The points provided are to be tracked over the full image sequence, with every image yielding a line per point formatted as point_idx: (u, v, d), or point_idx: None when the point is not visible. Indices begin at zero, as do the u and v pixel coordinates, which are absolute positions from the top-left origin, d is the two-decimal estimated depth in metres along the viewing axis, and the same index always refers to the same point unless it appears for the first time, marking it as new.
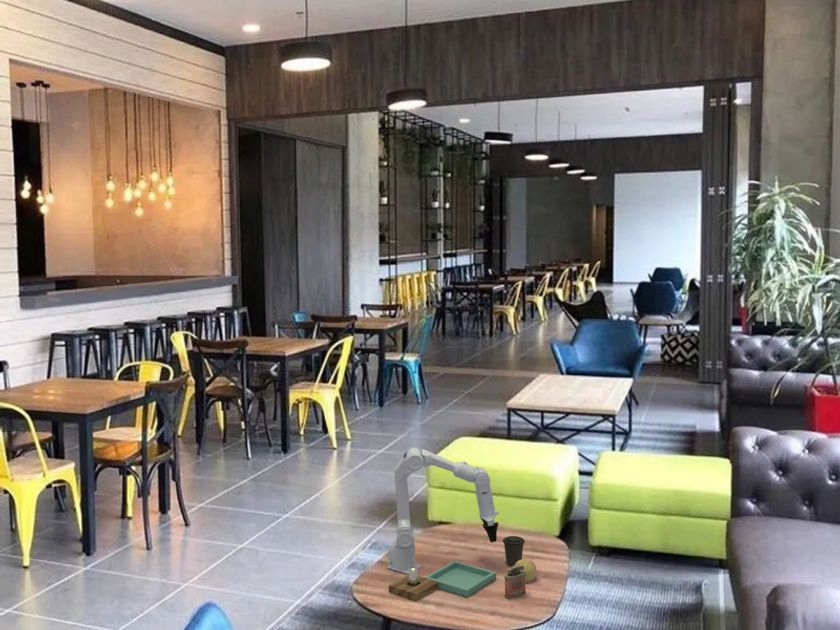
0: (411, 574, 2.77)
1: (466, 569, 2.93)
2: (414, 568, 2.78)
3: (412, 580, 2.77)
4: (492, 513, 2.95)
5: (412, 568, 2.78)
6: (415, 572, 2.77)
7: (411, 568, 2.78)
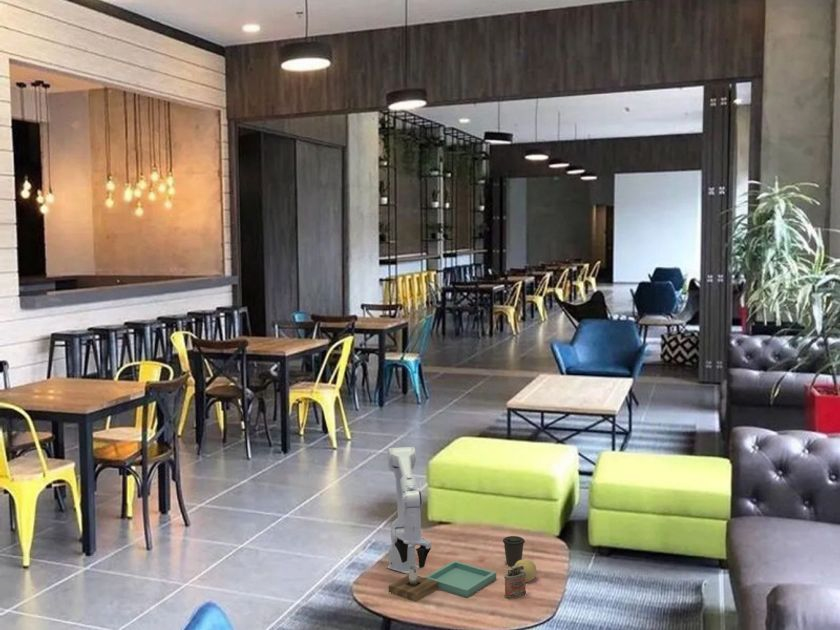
0: (411, 574, 2.77)
1: (466, 569, 2.93)
2: (414, 568, 2.78)
3: (412, 580, 2.77)
4: (404, 536, 2.77)
5: (412, 568, 2.78)
6: (415, 572, 2.77)
7: (411, 568, 2.78)
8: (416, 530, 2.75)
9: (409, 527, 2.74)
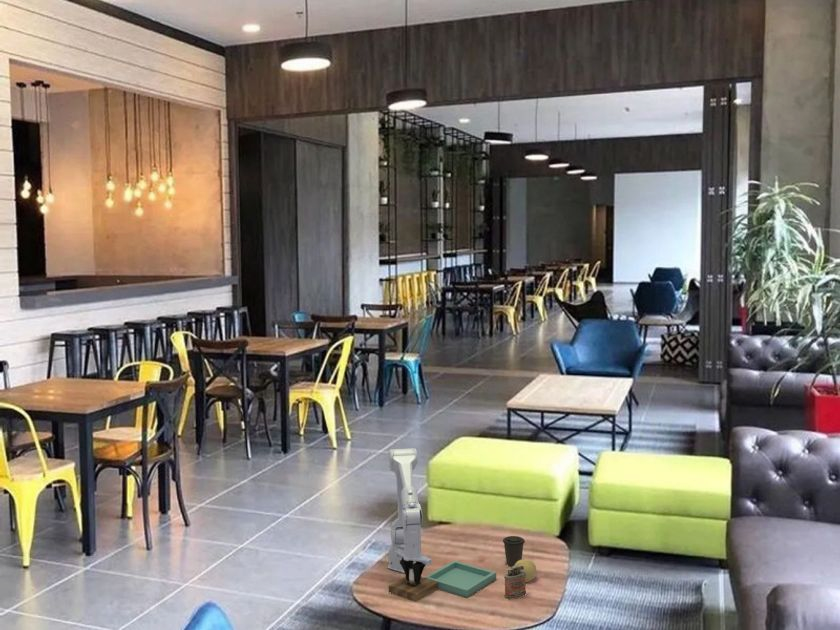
0: (411, 574, 2.77)
1: (466, 569, 2.93)
2: None
3: (412, 580, 2.77)
4: (404, 553, 2.78)
5: (412, 568, 2.78)
6: None
7: (411, 568, 2.78)
8: (417, 547, 2.75)
9: (409, 544, 2.75)
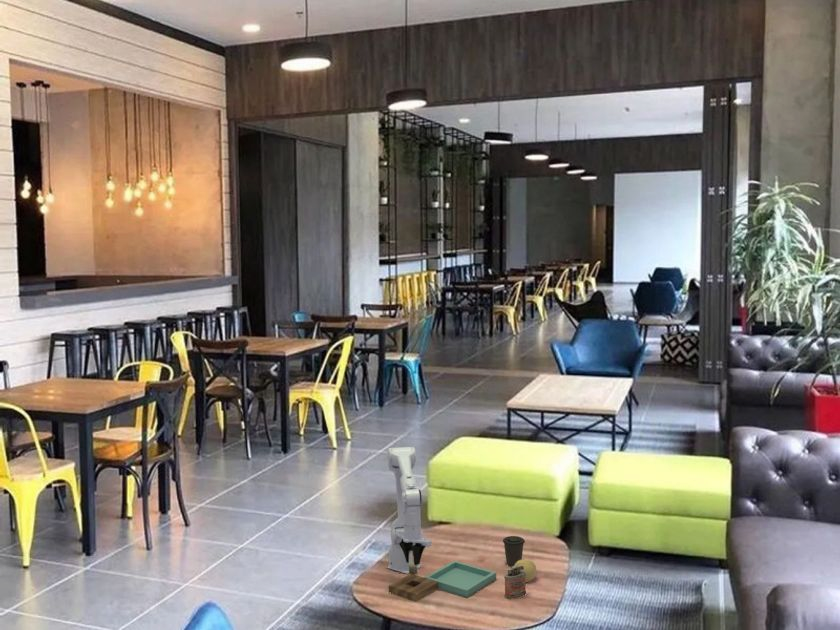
0: (410, 556, 2.77)
1: (466, 569, 2.93)
2: None
3: (412, 561, 2.77)
4: (404, 535, 2.77)
5: None
6: None
7: (411, 550, 2.77)
8: (416, 529, 2.75)
9: (409, 526, 2.74)
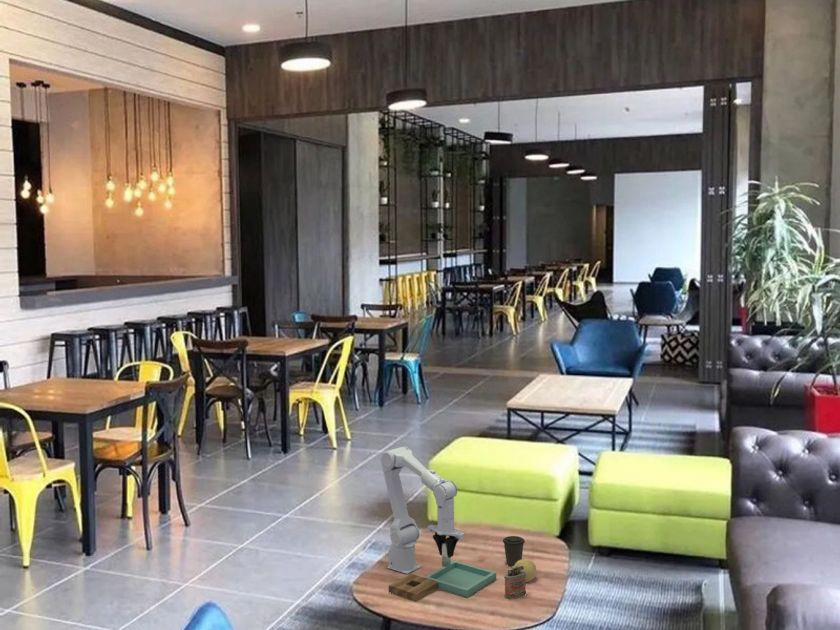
0: (443, 548, 2.81)
1: (466, 569, 2.93)
2: None
3: (445, 554, 2.81)
4: None
5: (445, 542, 2.82)
6: None
7: (444, 543, 2.82)
8: (450, 522, 2.79)
9: (448, 518, 2.78)
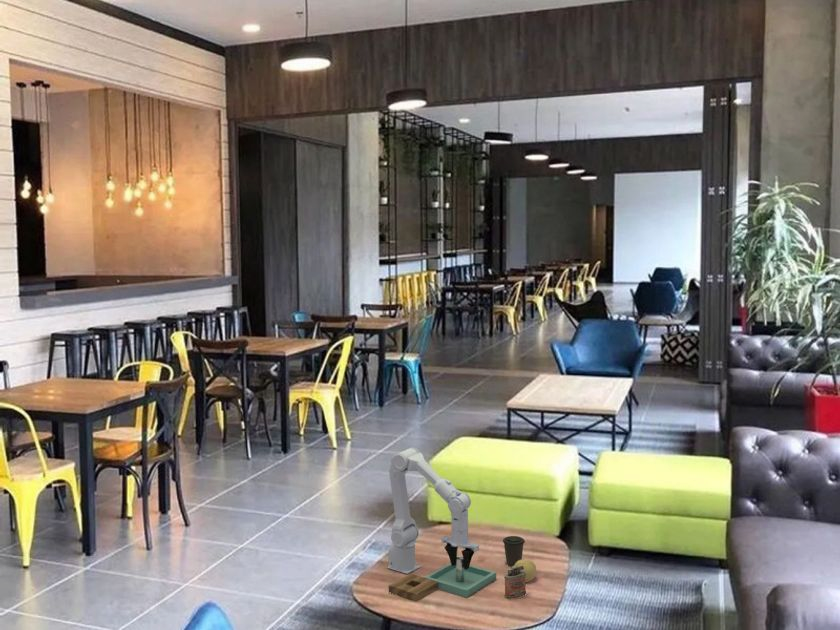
0: (458, 564, 2.83)
1: None
2: (461, 558, 2.84)
3: (459, 570, 2.83)
4: None
5: (459, 558, 2.84)
6: (462, 562, 2.83)
7: (459, 558, 2.84)
8: (464, 534, 2.81)
9: (464, 530, 2.81)
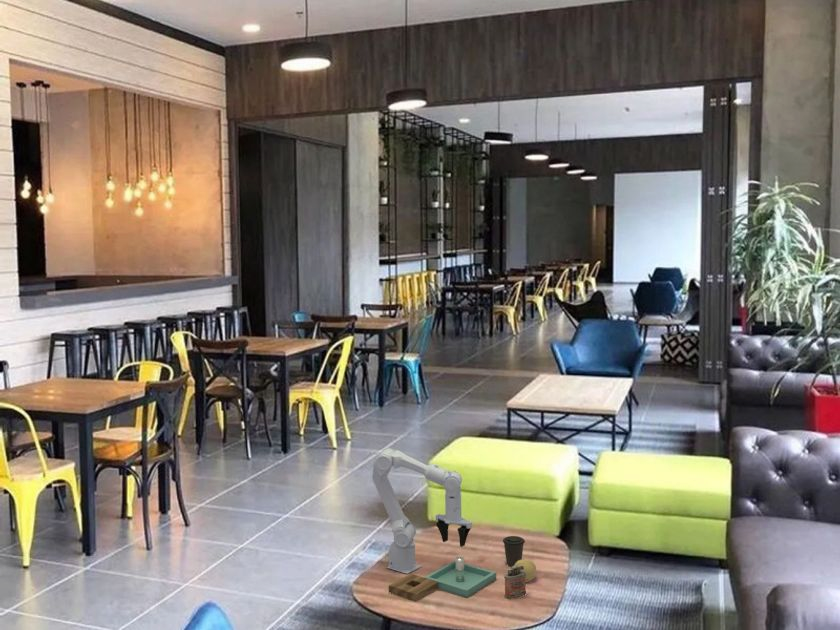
0: (457, 564, 2.83)
1: (466, 569, 2.93)
2: (461, 558, 2.84)
3: (459, 570, 2.83)
4: (445, 517, 2.93)
5: (459, 558, 2.84)
6: (461, 562, 2.83)
7: (458, 558, 2.84)
8: (457, 511, 2.90)
9: (459, 507, 2.90)
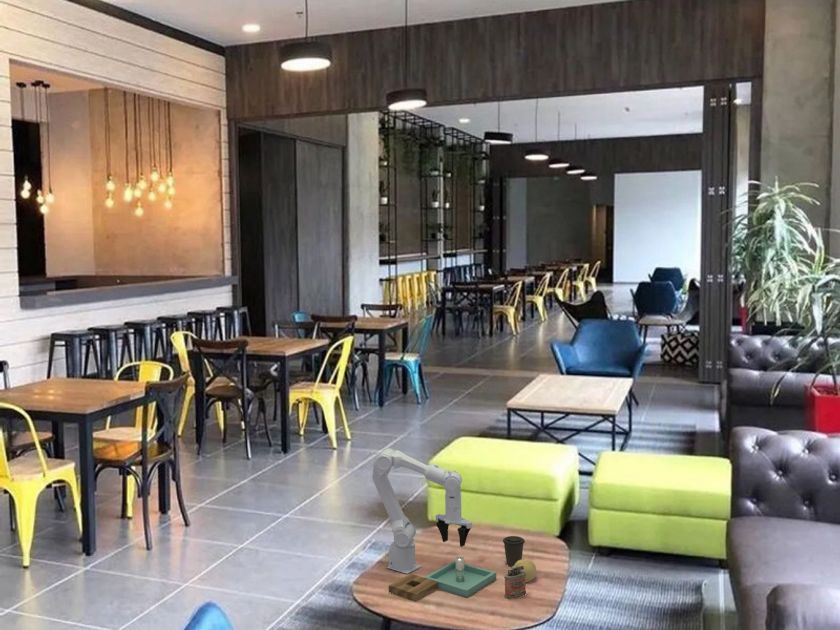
0: (457, 564, 2.83)
1: (466, 569, 2.93)
2: (461, 558, 2.84)
3: (459, 570, 2.83)
4: (445, 517, 2.93)
5: (459, 558, 2.84)
6: (461, 562, 2.83)
7: (458, 558, 2.84)
8: (457, 511, 2.90)
9: (459, 507, 2.90)
